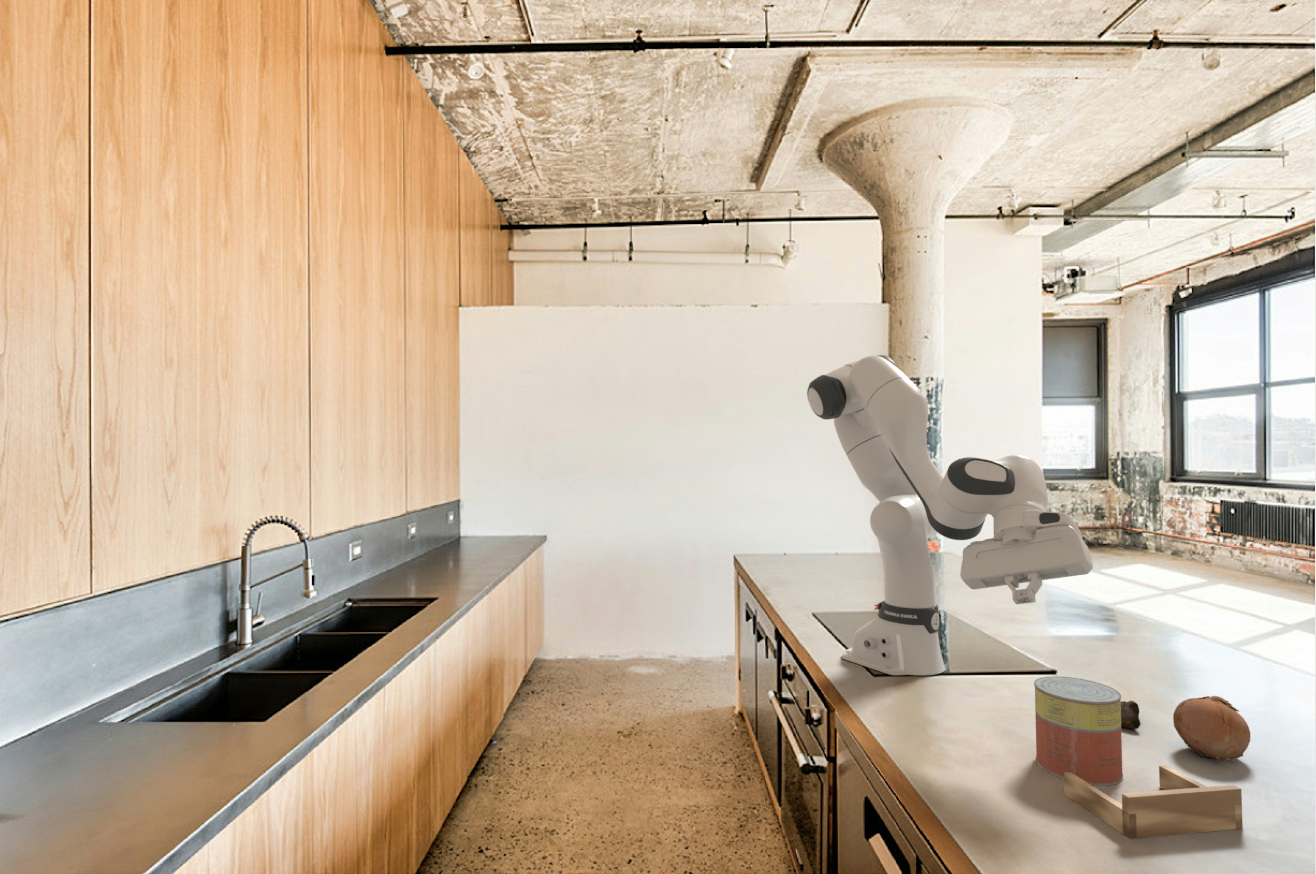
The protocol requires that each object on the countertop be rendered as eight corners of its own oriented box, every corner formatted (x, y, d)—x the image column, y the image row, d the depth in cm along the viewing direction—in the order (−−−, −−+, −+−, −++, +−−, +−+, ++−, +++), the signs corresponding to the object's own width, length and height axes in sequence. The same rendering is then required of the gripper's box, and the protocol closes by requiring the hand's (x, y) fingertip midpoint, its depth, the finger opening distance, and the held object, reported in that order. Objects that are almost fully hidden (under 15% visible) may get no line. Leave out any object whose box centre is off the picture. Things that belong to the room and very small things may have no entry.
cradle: (1064, 794, 93) (1063, 758, 93) (1165, 786, 95) (1164, 751, 95) (1129, 838, 82) (1128, 797, 82) (1242, 828, 84) (1241, 788, 84)
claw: (1165, 730, 115) (1164, 710, 116) (1116, 736, 113) (1115, 716, 113) (1073, 694, 135) (1072, 677, 135) (1029, 698, 132) (1028, 681, 133)
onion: (1220, 767, 107) (1235, 708, 109) (1256, 778, 98) (1272, 713, 100) (1154, 739, 110) (1170, 681, 112) (1184, 746, 102) (1200, 683, 103)
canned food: (1096, 753, 106) (1094, 677, 106) (1140, 787, 95) (1138, 703, 95) (1023, 750, 107) (1021, 675, 108) (1057, 784, 96) (1055, 700, 96)
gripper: (955, 534, 123) (952, 599, 114) (1076, 510, 109) (1084, 582, 100) (971, 553, 125) (970, 618, 117) (1092, 532, 112) (1101, 604, 103)
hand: (1024, 601), depth 108 cm, fingers closed
